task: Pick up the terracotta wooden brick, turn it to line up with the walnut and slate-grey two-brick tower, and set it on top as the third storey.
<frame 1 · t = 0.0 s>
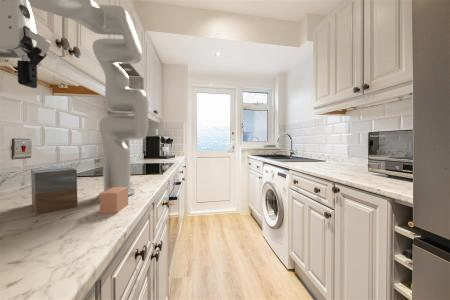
terracotta brick: (115, 209, 65), on the countertop
brick tower: (54, 205, 69), on the countertop
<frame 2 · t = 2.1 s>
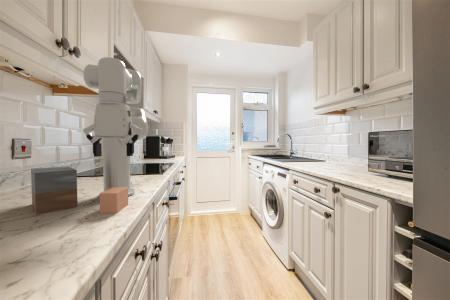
hand: (113, 156, 64), 17 cm above the countertop, tool pointing down, fingers open, 9 cm apart
nothing on the countertop moved.
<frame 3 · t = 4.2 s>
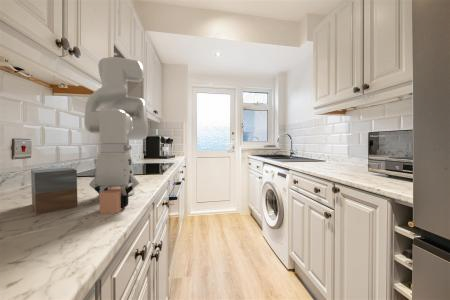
hand: (114, 206, 65), 1 cm above the countertop, tool pointing down, fingers closed on terracotta brick, 5 cm apart
terracotta brick: (115, 208, 65), on the countertop, touching gripper
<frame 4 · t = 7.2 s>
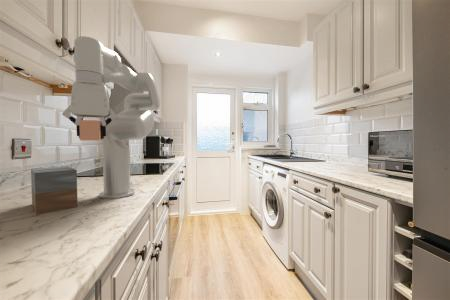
hand: (92, 138, 66), 22 cm above the countertop, tool pointing down, fingers closed on terracotta brick, 5 cm apart
terracotta brick: (92, 140, 66), point 21 cm above the countertop, touching gripper
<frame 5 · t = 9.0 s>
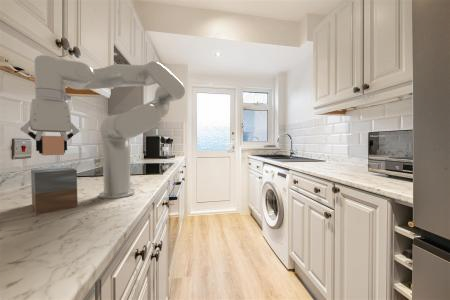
hand: (52, 152, 68), 18 cm above the countertop, tool pointing down, fingers closed on terracotta brick, 5 cm apart
terracotta brick: (52, 154, 68), point 17 cm above the countertop, touching gripper
when the fingers open (14 cm above the countertop, at t = 10.4 s): terracotta brick drops 1 cm, resting on brick tower.
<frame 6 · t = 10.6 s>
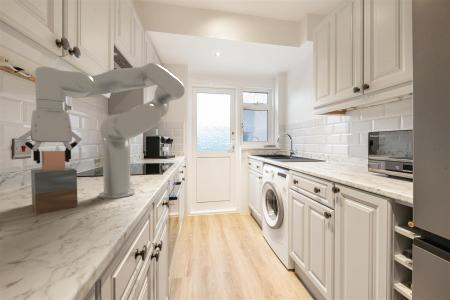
hand: (53, 162, 68), 14 cm above the countertop, tool pointing down, fingers open, 6 cm apart
terracotta brick: (53, 169, 68), point 12 cm above the countertop, touching brick tower
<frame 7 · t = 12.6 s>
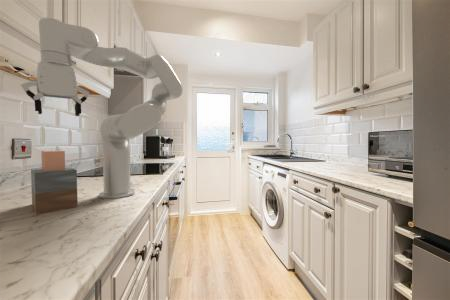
hand: (59, 114, 68), 30 cm above the countertop, tool pointing down, fingers open, 9 cm apart
nothing on the countertop moved.
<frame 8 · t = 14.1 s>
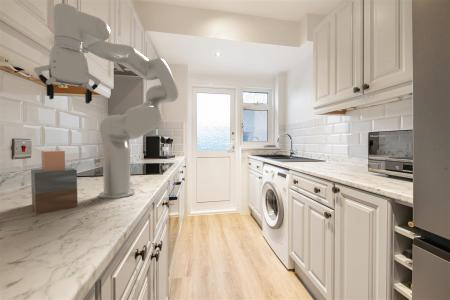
hand: (70, 101, 68), 34 cm above the countertop, tool pointing down, fingers open, 9 cm apart
nothing on the countertop moved.
at the end: terracotta brick 0.1 cm off-centre on the brick tower, point 12.0 cm above the brick tower's base; terracotta brick tilted 0°; the gripper is holding nothing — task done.
